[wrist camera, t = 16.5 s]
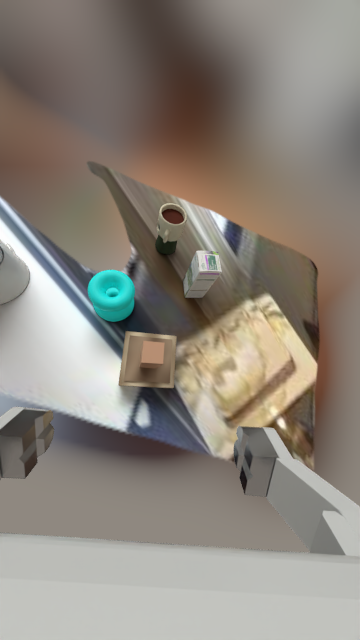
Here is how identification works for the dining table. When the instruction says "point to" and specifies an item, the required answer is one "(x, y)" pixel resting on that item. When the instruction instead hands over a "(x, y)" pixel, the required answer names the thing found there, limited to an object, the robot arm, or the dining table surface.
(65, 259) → the dining table surface
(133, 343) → the plinth
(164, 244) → the character mug
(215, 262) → the syrup box
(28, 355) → the dining table surface
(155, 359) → the terracotta block
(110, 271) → the donuts
